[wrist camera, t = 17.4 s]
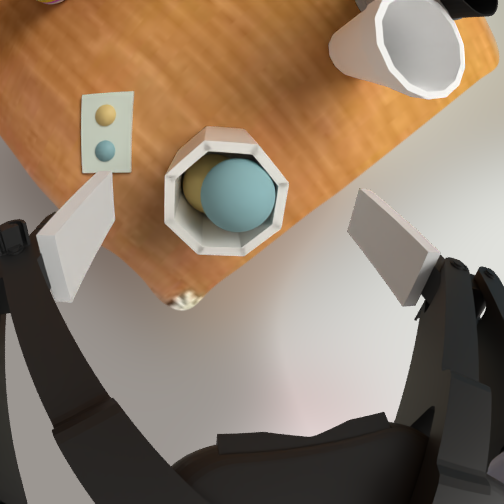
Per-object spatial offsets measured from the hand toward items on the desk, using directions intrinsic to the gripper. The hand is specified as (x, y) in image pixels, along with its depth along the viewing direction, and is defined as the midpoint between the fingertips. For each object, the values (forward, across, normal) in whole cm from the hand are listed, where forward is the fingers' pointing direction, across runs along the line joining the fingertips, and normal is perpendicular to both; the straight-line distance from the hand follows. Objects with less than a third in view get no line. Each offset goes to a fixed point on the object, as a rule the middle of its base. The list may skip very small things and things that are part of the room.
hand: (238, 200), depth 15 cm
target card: (+18, -13, 0) cm, 22 cm away
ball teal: (+10, -1, -4) cm, 11 cm away
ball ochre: (+17, 0, -4) cm, 17 cm away
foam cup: (+18, +13, +12) cm, 26 cm away
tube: (+18, 0, -4) cm, 18 cm away
